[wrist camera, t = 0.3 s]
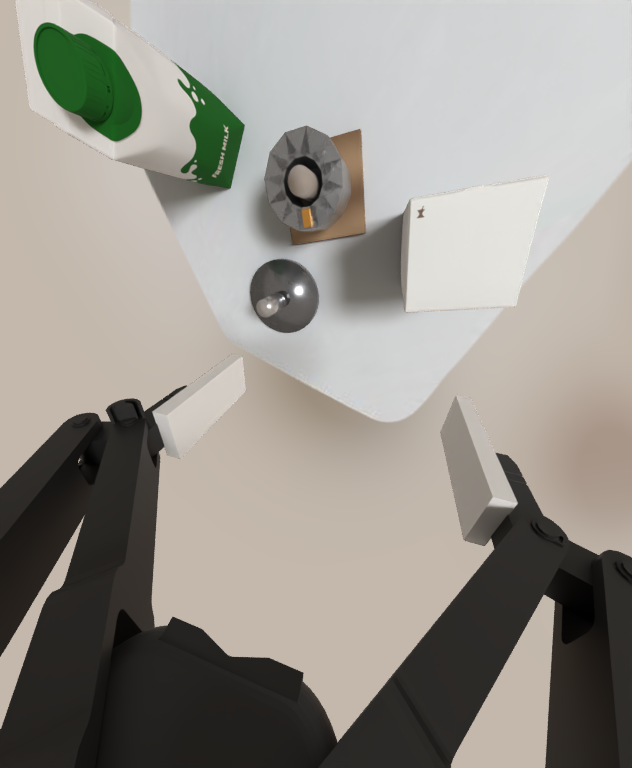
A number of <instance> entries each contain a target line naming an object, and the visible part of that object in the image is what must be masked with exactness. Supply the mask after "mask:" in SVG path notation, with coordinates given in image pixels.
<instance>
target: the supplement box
mask: <svg viewBox="0 0 632 768" xmlns="http://www.w3.org/2000/svg"><path fill="white" fill-rule="evenodd" d="M548 179H549V176H548V175H542V176H536V177H530V178H525V179H519V180H513V181H508V182H502V183H496V184H490V185H485V186H476V187H471V188H467V189H462V190H456V191H450V192H444V193H439V194H433V195H427V196H421V197H416V198H411V199H410V200H409V202H408V204H407V207H406V209H405V211H404V213H403V227H402V246H401V288H402V295H403V302H404V310H405V312H406V313H408V312H427V311H448V310H467V309H485V308H502V307H515V306H516V304H517V299H518V295H519V291H520V288H521V283H522V280H523V275H524V271H525V266H526V263H527V259H528V255H529V251H530V246H531V243H532V239H533V235H534V231H535V227H536V224H537V220H538V216H539V213H540V209H541V205H542V202H543V198H544V194H545V191H546V187H547V183H548Z"/></svg>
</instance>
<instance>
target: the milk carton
mask: <svg viewBox="0 0 632 768" xmlns="http://www.w3.org/2000/svg"><path fill="white" fill-rule="evenodd" d="M15 4H16V11H17V19H18V26H19V34H20V41H21V49H22V56H23V63H24V70H25V78H26V86H27V93H28V100H29V107H30V109H31V110H33V111H34V112H36V113H37V114H39V115H41V116H42V117H44V118H46V119H47V120H49V121H51V122H52V123H54V124H55V125H56V127H58V128H59V129H61V130H62V131H64V132H65V133H67V134H69V135H70V136H72V137H74V138H76V139H77V140H79V141H81V142H83V143H85V144H86V145H88V146H90V147H91V148H93V149H95V150H96V151H99V152H100V153H101V154H103V155H105V156H107V157H109V158H110V159H112V160H116V161H120V162H123V163H126V164H130V165H133V166H137V167H140V168H144V169H147V170H151V171H155V172H159V173H163V174H166V175H170V176H174V177H178V178H182V179H185V180H189V181H193V182H197V183H201V184H207V185H213V186H220V187H226V188H231V183H232V179H233V174H234V170H235V166H236V161H237V157H238V152H239V148H240V144H241V139H242V135H243V130H244V126H245V125H244V124H243V123H242V122H241V121H240V120H239V119H238V118H237V117H236V116H235V115H234V114H233V113H232V112H231V111H230V110H229V109H228V108H227V107H226V106H225V105H224V104H223V103H222V102H221V101H220V100H219V99H218V98H217V97H216V96H215V95H214V94H213V93H212V92H211V91H209V90H208V89H207V88H206V87H205V86H204V85H202V84H201V83H200V82H199V81H197V80H196V79H195V78H194V77H192V76H191V75H190V74H188V73H187V72H186V71H185V70H183V69H182V68H181V67H179V66H178V65H177V64H176V63H174V62H173V61H172V60H170V59H169V58H168V57H167V56H165V55H164V54H163V53H161V52H160V51H159V50H158V49H156V48H155V47H154V46H152V45H151V44H150V43H148V42H147V41H146V40H145V39H143V38H142V37H141V36H139V35H138V34H136V33H135V32H133V31H132V30H131V29H129V28H128V27H126V26H125V25H123V24H122V23H120V22H119V21H117V20H116V19H114V18H112V15H111V13H109V12H108V11H107V10H105V9H104V8H102V7H101V6H99V5H98V4H96V3H95V2H93V1H91V0H15Z"/></svg>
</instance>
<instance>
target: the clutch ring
mask: <svg viewBox="0 0 632 768" xmlns="http://www.w3.org/2000/svg"><path fill="white" fill-rule="evenodd" d="M297 165H303V166H305V167H306V168H308V169H309V170H310V169H314V168H317V167H319V168H320V170H321V172H322V181H323V186H322V189H321V193H320V196H319V198H318V199H317V200H316V201H315V202H314V203H313V204H312V205H311V206H308V207H305V205H304V204H303V202H302V201H301V198H300V197H298V196H296V195H294V194H293V193H292V192H291V191H290V189H289V186H288V176H289V173H290V171H291V169H292V168H293V167H295V166H297ZM264 179H265V185H266V190H267V195H268V201H269V205H270V206H271V207H272V209H273V210H274V212H275V213H276V215H277V216H278V218H279V219H280V221H281V222H282V223H284V224H286V225H288V226H290V227H292V228H294V229H296V230H298V231H309V232H314V231H319V230H325V229H329V228H330V227H331V226H333V225H334V224H335V223H336V222H337V221H338V220H339V219H340V218H341V217H342V216H343V215H344V212H345V210H346V207H347V204H348V202H349V199H350V196H351V182H350V170H349V168H348V166H347V165H346V163H345V161H344V159H343V158H342V156H341V154H340V153H339V151H338V149H337V148H336V147H335V145H334V144H333V142H332V141H331V139H330V138H329V136H328V135H326V134H324V133H322V132H319V131H317V130H315V129H313V128H311V127H309V126H304V127H301V128H298V129H294V130H291V131H288V132H285V133H284V135H283V136H282V137H281V138H280V140H279V141H278V142H277V144H276V145H275V146H274V148H273V149H272V150H271V152H270V154H269V159H268V164H267V169H266V174H265V178H264Z"/></svg>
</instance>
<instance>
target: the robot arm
mask: <svg viewBox="0 0 632 768" xmlns="http://www.w3.org/2000/svg"><path fill="white" fill-rule="evenodd" d="M245 391H246V387H245V377H244V366H243V356H240V355H235V354H231V355H230V356H229V357H227V358H226V359H224V360H223V361H222V362H220V363H219V364H218V365H216V366H215V367H214V368H212V369H211V370H209V371H208V372H207V373H205V374H204V375H202V376H201V377H199V378H198V379H197V380H196V381H194V382H193V383H191V384H190V385H188V386H183V387H181V388H178V389H176V390H175V391H173V392H172V393H170V394H169V396H166V397H165V398H163V400H160V401H159V402H157V403H156V404H155V405H153V406H152V407H150V408H149V409H147V410H146V411H145V412H144V410H143V408H142V405H141V402H140V401H139V400H137V399H124V400H120V401H117V402H115V403H113V404H111V405H110V406H108V408H107V409H106V412H107V414H108V416H109V418H110V420H111V422H101V420H100V419H99V416H98V415H97V414H95V413H84V414H79V415H76V416H74V417H72V418H70V419H68V420H67V421H66V422H64V423H63V424H62V425H61V426H60V427H59V428H58V430H57V431H56V432H55V433H54V434H53V435H52V436H51V437H50V438H49V439H48V440H47V441H46V442H45V443H44V444H43V445H42V446H41V447H40V448H39V449H38V450H37V451H36V452H35V453H34V454H33V455H32V457H30V458H29V459H28V460H27V462H26V463H25V464H24V465H23V466H22V467H21V468H20V469H19V470H18V471H17V472H16V473H15V474H14V475H13V476H12V477H11V478H10V479H9V480H8V481H7V482H6V483H5V484H4V485H3V486H2V487H1V488H0V656H1V655H2V653H3V652H4V650H5V649H6V647H7V645H8V644H9V642H10V640H11V638H12V637H13V635H14V633H15V632H16V630H17V628H18V627H19V625H20V623H21V622H22V620H23V618H24V616H25V615H26V613H27V611H28V610H29V608H30V606H31V605H32V603H33V601H34V599H35V598H36V596H37V595H38V593H39V591H40V590H41V588H42V586H43V584H44V582H45V581H46V579H47V578H48V576H49V574H50V573H51V571H52V569H53V567H54V566H55V564H56V562H57V561H58V559H59V557H60V556H61V554H62V552H63V551H64V549H65V547H66V546H67V544H68V542H69V540H70V539H71V537H72V535H73V534H74V532H75V530H76V529H77V527H78V525H79V524H80V522H81V520H82V518H83V517H84V520H83V523H82V526H81V529H80V533H79V536H78V540H77V543H76V546H75V549H74V552H73V556H72V559H71V563H70V566H69V569H68V572H67V576H66V579H65V582H64V584H63V586H62V587H61V588H60V589H58V590H56V591H54V592H52V593H51V594H50V595H49V597H48V598H47V599H46V601H45V603H44V605H43V608H42V610H41V613H40V616H39V619H38V622H37V625H36V628H35V631H34V634H33V637H32V640H31V643H30V646H29V648H28V651H27V654H26V657H25V660H24V663H23V666H22V669H21V672H20V675H19V678H18V681H17V684H16V687H15V690H14V693H13V696H12V698H11V701H10V704H9V707H8V710H7V713H6V716H5V719H4V722H3V725H2V728H1V729H0V768H451V763H452V760H453V758H454V756H455V753H456V752H457V750H458V748H459V746H460V744H461V742H462V741H463V739H464V737H465V735H466V734H467V732H468V730H469V728H470V726H471V725H472V723H473V721H474V719H475V717H476V715H477V713H478V712H479V710H480V708H481V707H482V705H483V703H484V701H485V699H486V697H487V695H488V694H489V692H490V690H491V688H492V687H493V685H494V683H495V681H496V680H497V678H498V676H499V674H500V672H501V670H502V669H503V667H504V665H505V663H506V662H507V660H508V658H509V656H510V654H511V653H512V651H513V649H514V647H515V645H516V644H517V642H518V640H519V638H520V636H521V634H522V633H523V631H524V629H525V627H526V626H527V624H528V622H529V620H530V618H531V617H532V615H533V613H534V611H535V609H536V608H537V606H538V604H539V602H540V600H541V598H542V597H543V595H546V596H548V597H549V598H551V599H553V600H554V601H555V610H554V611H555V612H554V628H553V645H552V662H551V680H550V697H549V714H548V715H549V716H548V732H547V749H546V767H545V768H632V558H631V557H630V556H627V555H625V554H623V553H621V552H618V551H613V550H607V551H604V552H603V553H601V554H600V555H597V554H595V553H593V552H591V551H589V550H587V549H585V548H583V547H581V546H579V545H577V544H575V543H573V542H571V541H569V540H568V537H567V535H566V534H565V533H564V532H563V530H562V529H561V528H560V527H559V526H558V525H557V524H555V523H554V522H553V521H552V520H550V519H548V518H547V517H545V516H543V514H542V512H541V510H540V508H539V507H538V505H537V503H536V501H535V499H534V497H533V495H532V493H531V491H530V489H529V487H528V486H527V485H526V481H525V479H524V478H523V477H522V474H521V472H520V470H519V468H518V466H517V465H516V464H515V463H514V461H513V460H512V459H511V458H509V456H508V455H503V454H499V453H495V451H494V449H493V447H492V444H491V442H490V440H489V438H488V435H487V433H486V431H485V429H484V426H483V424H482V422H481V420H480V418H479V416H478V413H477V411H476V409H475V406H474V404H473V402H472V400H471V398H469V397H464V396H458V395H456V396H455V398H454V401H453V403H452V406H451V408H450V411H449V413H448V415H447V418H446V420H445V423H444V425H443V427H442V430H441V438H442V442H443V446H444V452H445V456H446V461H447V465H448V470H449V475H450V479H451V484H452V489H453V492H454V498H455V502H456V507H457V512H458V516H459V521H460V525H461V530H462V535H463V539H464V540H465V541H468V542H471V543H475V544H478V545H482V546H485V545H486V544H487V543H488V541H489V540H490V539H492V542H493V545H494V550H493V552H492V553H491V554H490V555H489V557H488V558H487V559H486V560H485V561H484V563H483V564H482V565H481V567H480V568H479V569H478V570H477V572H476V573H475V574H474V575H473V576H472V578H471V579H470V580H469V581H468V582H467V584H466V585H465V586H464V587H463V589H462V590H461V591H460V592H459V594H458V595H457V596H456V597H455V599H454V600H453V601H452V602H451V603H450V605H449V606H448V607H447V608H446V610H445V611H444V612H443V613H442V615H441V616H440V617H439V618H438V620H437V621H436V622H435V624H433V626H432V627H431V629H429V631H428V632H427V633H426V634H425V636H424V637H423V638H422V639H421V640H420V642H419V643H418V644H417V646H416V647H415V648H414V649H413V650H412V652H411V653H410V654H409V655H408V657H407V658H406V659H405V660H404V662H403V663H402V664H401V665H400V667H399V668H398V669H397V670H396V671H395V673H394V674H393V675H392V676H391V678H390V679H389V680H388V681H387V682H386V684H385V685H384V686H383V688H382V689H381V690H380V691H379V692H378V694H377V695H376V696H375V697H374V698H373V700H372V701H371V702H370V703H369V705H368V706H367V707H366V708H365V709H364V711H363V712H362V713H361V714H360V716H359V717H358V718H357V719H356V721H355V722H354V723H353V724H352V726H351V727H350V728H349V729H348V731H347V732H346V733H345V734H344V735H343V737H342V738H341V739H340V740H339V742H338V743H337V739H336V736H335V734H334V731H333V728H332V725H331V723H330V720H329V718H328V716H327V714H326V712H325V710H324V708H323V706H322V705H321V703H320V701H319V700H318V698H317V697H316V696H315V694H314V693H313V692H312V691H311V689H310V688H309V687H308V686H307V685H306V684H305V683H304V682H303V672H300V671H298V670H296V669H293V668H291V667H289V666H286V665H284V664H282V663H279V662H277V661H275V660H273V659H270V658H252V657H251V658H250V657H231V656H228V655H227V654H226V653H225V652H224V651H223V650H222V649H221V648H220V647H219V646H218V645H217V644H216V643H215V642H214V641H213V640H212V639H211V638H210V637H209V636H208V635H207V634H206V633H205V632H204V631H203V630H202V629H200V628H198V627H196V626H193V625H191V624H189V623H186V622H184V621H182V620H180V619H177V618H175V617H172V619H171V620H170V622H169V624H168V626H160V627H155V628H154V615H153V611H152V603H151V600H152V599H151V598H152V582H153V565H154V549H155V532H156V517H157V500H158V484H159V469H160V455H159V451H160V450H161V449H162V448H163V447H164V448H165V450H166V453H167V455H168V456H171V457H175V458H178V459H181V458H182V457H183V456H184V454H185V453H187V451H188V450H189V449H190V448H191V447H192V446H193V445H194V444H195V443H196V442H197V441H198V440H199V439H200V438H201V437H202V436H203V435H204V434H205V433H206V432H207V431H208V430H209V429H210V428H211V427H212V426H213V424H214V423H215V422H216V421H217V420H218V419H219V418H220V417H221V416H222V415H223V414H224V413H225V412H226V411H227V410H228V409H229V408H230V407H231V406H232V405H233V404H234V403H235V402H236V401H237V400H238V399H239V398H240V396H241V395H242V394H243V393H244V392H245ZM79 458H80V459H81V460H80V461H79V463H78V460H79ZM84 515H85V516H84Z"/></svg>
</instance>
